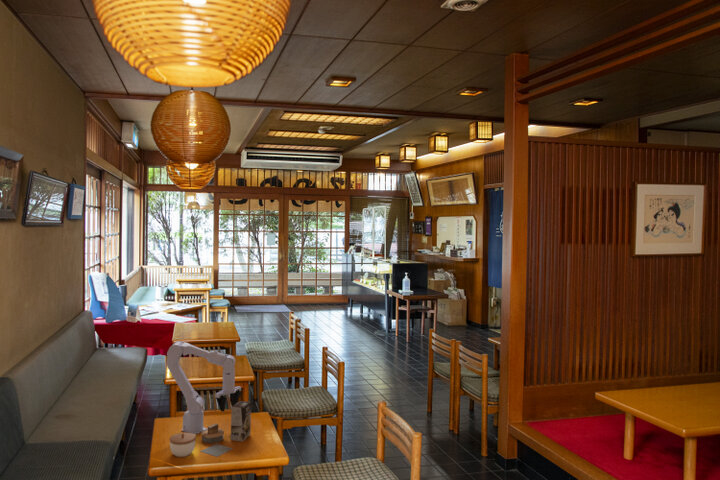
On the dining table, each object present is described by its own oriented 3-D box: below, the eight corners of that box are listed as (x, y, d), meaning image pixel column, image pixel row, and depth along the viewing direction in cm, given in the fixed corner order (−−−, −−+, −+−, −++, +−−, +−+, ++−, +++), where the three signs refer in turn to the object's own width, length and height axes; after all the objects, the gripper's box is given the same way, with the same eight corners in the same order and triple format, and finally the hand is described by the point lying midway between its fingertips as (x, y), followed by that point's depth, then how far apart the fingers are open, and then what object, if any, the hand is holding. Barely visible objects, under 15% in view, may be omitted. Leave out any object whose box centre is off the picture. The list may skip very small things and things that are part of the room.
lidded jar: (195, 458, 235) (195, 437, 234) (168, 461, 232) (169, 439, 231) (195, 448, 245) (195, 427, 245) (169, 451, 242) (170, 429, 242)
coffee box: (243, 442, 253) (244, 407, 253) (230, 440, 255) (230, 406, 254) (251, 435, 262) (251, 401, 262) (238, 433, 263) (239, 400, 263)
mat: (199, 452, 241) (199, 451, 241) (216, 444, 250) (216, 443, 250) (217, 457, 236) (217, 456, 236) (233, 449, 245) (233, 448, 245)
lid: (197, 434, 253) (197, 426, 253) (212, 428, 262) (212, 420, 261) (213, 439, 248) (213, 431, 248) (228, 432, 257) (228, 424, 257)
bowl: (197, 441, 253) (197, 435, 253) (212, 434, 261) (212, 428, 261) (212, 445, 248) (212, 439, 248) (227, 438, 257) (227, 432, 257)
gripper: (223, 386, 258) (222, 414, 259) (245, 379, 271) (245, 406, 271) (212, 383, 262) (212, 411, 263) (235, 376, 274) (235, 403, 275)
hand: (228, 408), depth 267 cm, fingers open, 7 cm apart
